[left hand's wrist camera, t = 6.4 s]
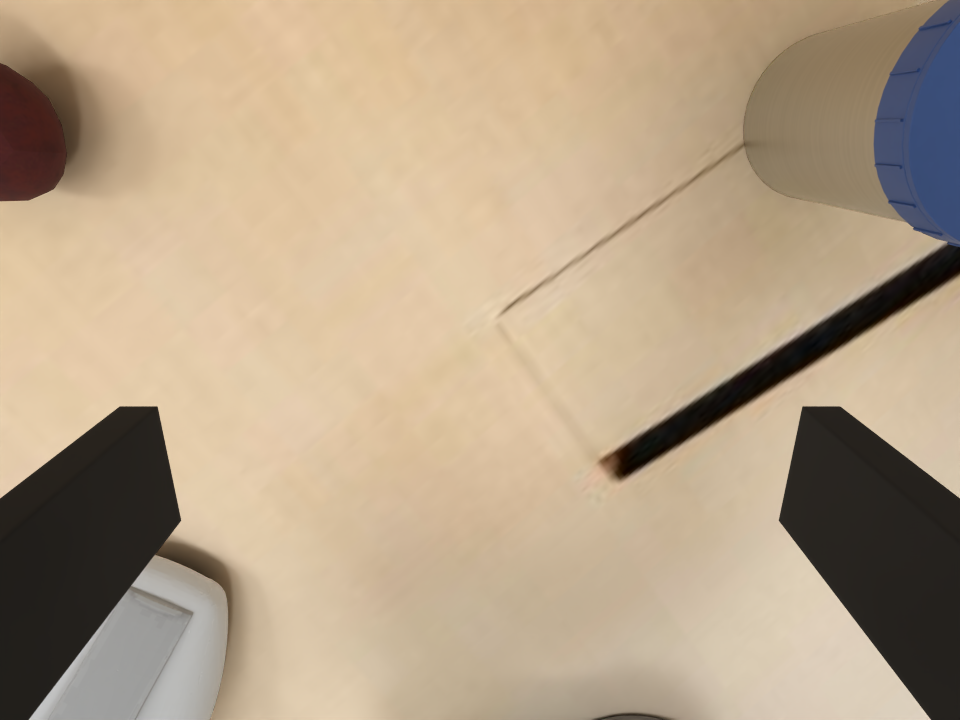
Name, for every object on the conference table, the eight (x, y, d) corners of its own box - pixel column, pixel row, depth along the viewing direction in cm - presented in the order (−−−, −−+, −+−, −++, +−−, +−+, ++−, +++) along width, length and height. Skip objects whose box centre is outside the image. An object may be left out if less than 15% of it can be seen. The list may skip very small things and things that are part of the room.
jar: (833, -8, 34) (1091, -108, 20) (934, 107, 36) (1234, 92, 22) (710, 130, 37) (859, 130, 22) (811, 229, 39) (1007, 289, 24)
